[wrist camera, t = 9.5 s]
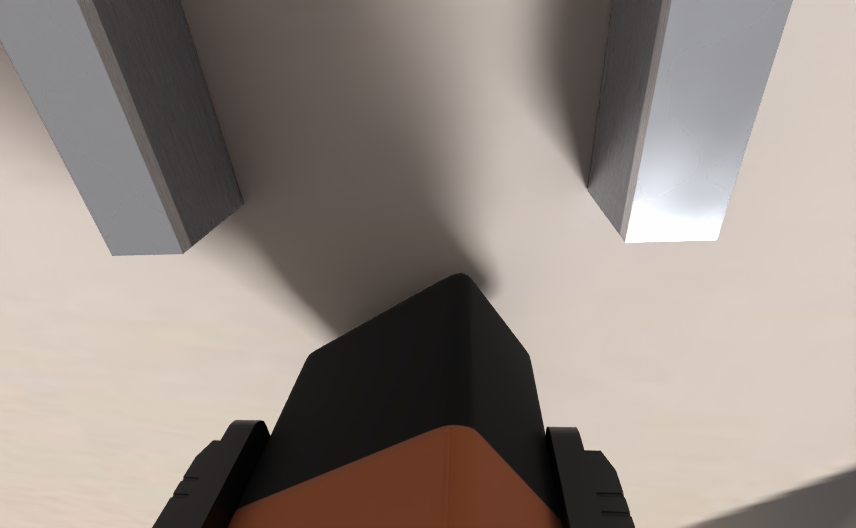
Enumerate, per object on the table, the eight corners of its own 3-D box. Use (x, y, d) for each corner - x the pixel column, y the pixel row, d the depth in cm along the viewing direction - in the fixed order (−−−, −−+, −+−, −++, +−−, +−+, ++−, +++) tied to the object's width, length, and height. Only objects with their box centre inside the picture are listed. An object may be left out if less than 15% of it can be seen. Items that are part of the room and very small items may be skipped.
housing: (16, -231, 9) (-206, -356, 6) (774, -352, 7) (983, -601, 4) (186, 206, 14) (111, 256, 11) (657, 188, 12) (716, 239, 9)
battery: (304, 350, 15) (79, 812, 6) (463, 261, 12) (462, 804, 4) (379, 421, 16) (287, 862, 8) (534, 353, 14) (645, 882, 5)
